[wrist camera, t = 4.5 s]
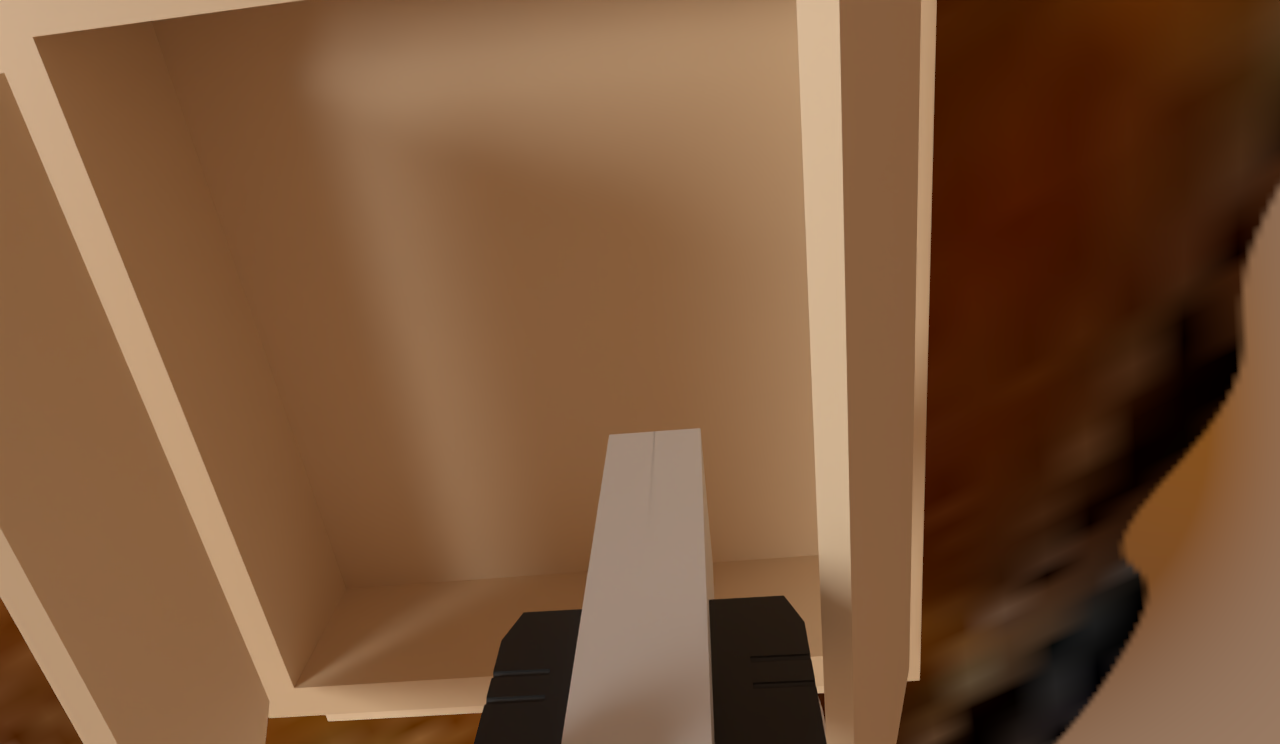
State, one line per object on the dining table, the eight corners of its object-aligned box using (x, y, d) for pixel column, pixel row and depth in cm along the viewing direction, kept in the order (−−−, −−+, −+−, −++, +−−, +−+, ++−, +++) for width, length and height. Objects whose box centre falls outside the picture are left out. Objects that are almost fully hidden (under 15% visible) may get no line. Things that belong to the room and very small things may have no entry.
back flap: (240, 971, 16) (217, 980, 15) (269, 701, 21) (253, 706, 21) (-218, 124, 9) (-265, 131, 9) (4, 73, 15) (-22, 77, 15)
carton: (101, -41, 19) (-54, -38, 15) (886, -154, 18) (947, -185, 14) (333, 612, 27) (273, 727, 23) (885, 573, 26) (923, 690, 22)
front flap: (796, -9, 8) (839, -14, 8) (895, -46, 14) (921, -49, 13) (835, 953, 15) (858, 962, 14) (891, 664, 20) (909, 667, 20)
